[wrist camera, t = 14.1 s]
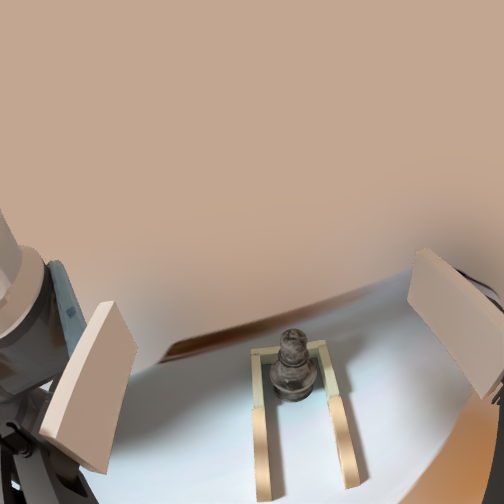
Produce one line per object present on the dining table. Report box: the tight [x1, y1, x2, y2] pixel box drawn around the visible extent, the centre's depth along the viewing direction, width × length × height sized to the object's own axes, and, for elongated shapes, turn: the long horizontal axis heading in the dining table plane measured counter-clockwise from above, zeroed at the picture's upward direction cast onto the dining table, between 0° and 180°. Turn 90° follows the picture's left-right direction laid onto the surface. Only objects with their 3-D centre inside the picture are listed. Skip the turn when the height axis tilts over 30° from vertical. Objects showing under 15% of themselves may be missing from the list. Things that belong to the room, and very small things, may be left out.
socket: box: [251, 339, 339, 409], centre depth 33 cm, size 9×10×2 cm
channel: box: [252, 396, 361, 502], centre depth 24 cm, size 12×11×2 cm
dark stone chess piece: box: [270, 329, 317, 402], centre depth 30 cm, size 6×6×12 cm
